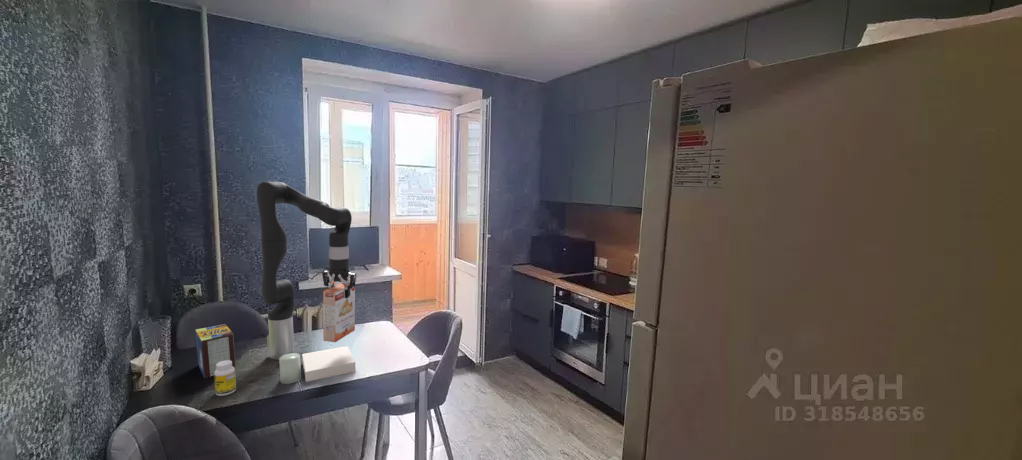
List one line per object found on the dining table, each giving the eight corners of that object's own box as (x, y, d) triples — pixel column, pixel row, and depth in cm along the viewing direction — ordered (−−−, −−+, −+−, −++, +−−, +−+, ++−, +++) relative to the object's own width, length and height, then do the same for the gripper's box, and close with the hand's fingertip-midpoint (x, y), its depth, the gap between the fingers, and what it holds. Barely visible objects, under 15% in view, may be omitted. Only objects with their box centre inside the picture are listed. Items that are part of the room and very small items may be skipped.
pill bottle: (211, 394, 145) (209, 364, 144) (228, 386, 151) (226, 357, 150) (223, 398, 143) (221, 368, 142) (240, 389, 149) (238, 360, 147)
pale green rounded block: (276, 382, 154) (274, 360, 153) (289, 374, 161) (287, 352, 160) (292, 384, 153) (291, 361, 152) (305, 375, 160) (304, 354, 159)
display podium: (305, 381, 155) (305, 371, 155) (302, 363, 171) (302, 354, 170) (355, 371, 164) (355, 362, 164) (348, 354, 180) (347, 345, 179)
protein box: (228, 358, 174) (225, 323, 172) (236, 370, 163) (233, 333, 161) (197, 365, 167) (194, 329, 165) (203, 379, 156) (200, 340, 154)
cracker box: (336, 343, 162) (335, 292, 159) (322, 341, 163) (321, 290, 160) (356, 330, 175) (355, 283, 173) (343, 328, 176) (342, 281, 174)
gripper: (316, 257, 162) (317, 298, 164) (350, 259, 160) (351, 301, 162) (328, 254, 169) (329, 293, 172) (360, 256, 167) (360, 296, 169)
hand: (339, 296), depth 167 cm, fingers closed on cracker box, 6 cm apart
